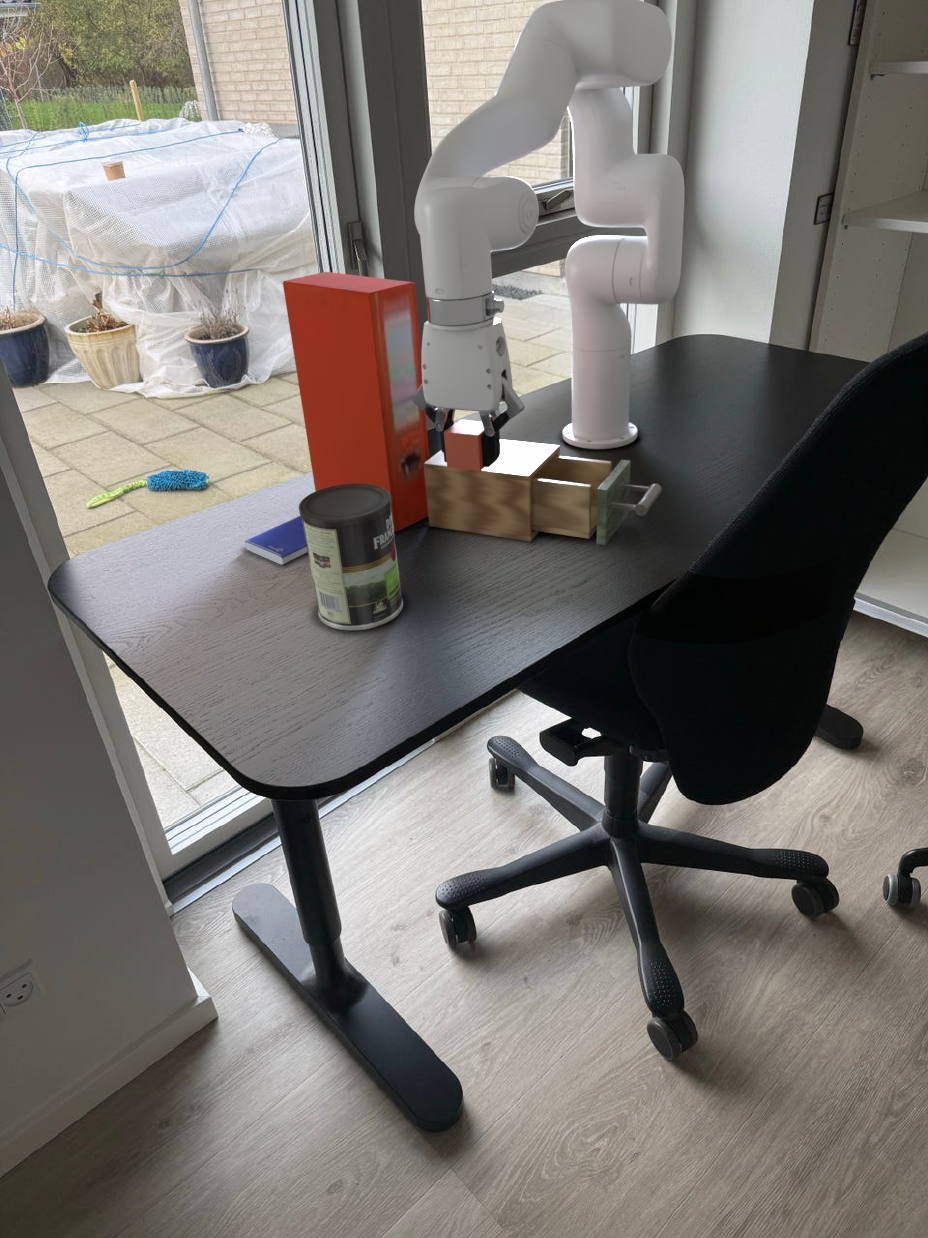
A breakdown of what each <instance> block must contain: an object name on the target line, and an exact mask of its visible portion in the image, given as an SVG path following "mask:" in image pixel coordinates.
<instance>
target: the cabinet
mask: <svg viewBox="0 0 928 1238" xmlns="http://www.w3.org/2000/svg"><path fill="white" fill-rule="evenodd" d="M500 450H501V452H500V456H499V458H498V459H497V460H496V461H495V462H494V463H493V464H492V465H491V466H490V467H484V468H483V469H482V470H481V471H474V470H466V469H458V468H450V467H447V462H445V461H444V453H443V452H442V449H440V450H439V451H438V452H436V453H435V454H434V455H432V456H431V457H429V460H427V461H426V462H425V463H424V474H425V484H426V495H427V505H428V524H429V527H432V528H433V527H434V528H440V529H446V530H453V531H458V532H467V533H473V534H479V535H485V536H492V537H498V538H505V539H511V540H518V541H524V542H532V541H533V540H534V539H535V538H536V536H537V535H538V534H539V532H540V531H534V530H532V508H531V480H530V479H531V478H532V477H533V476H534V475H535V474H536V473H537V472H538V471H539V470H540V469H541V468H542V467H543V466H544V465H545V464H546V463H547V462H548V461H549V460H550V459H551V458H552V457H553V456H554V455H557V456H561V445H559V444H551V443H550V444H549V443H539V442H529V441H522V440H521V441H520V440H510V439H501V438H500Z"/></svg>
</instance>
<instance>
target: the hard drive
mask: <svg viewBox="0 0 928 1238" xmlns="http://www.w3.org/2000/svg"><path fill="white" fill-rule="evenodd" d="M244 544H245V548H246V550H248V551H249V552H251V553H253V554H255V555H258V556H260V557H263V558H265V559H267V560H270V561H271V562H274V563H277V564H278V565H281V566H282V565H285V564H287V563H289V562H291V561H293V560H296V559H297V558H299V557H301V556H303V555H305V554H308V549H307V544H306V539H305V533H304V527H303V522H302V517H301V515H299V516H297V517H294V518H292V519H290V520H288V521H286V522H283V523H280V524H279V525H277V526H274V527H272V528H270V529H268V530H266V531H264V532H261V533H259V534H257V535H254V536H253V537H250V538H248V539H246V540H245V541H244Z"/></svg>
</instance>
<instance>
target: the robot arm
mask: <svg viewBox="0 0 928 1238" xmlns="http://www.w3.org/2000/svg"><path fill="white" fill-rule="evenodd" d="M672 36H673V35H672V29H671V25H670V23H669V20H668V18H667V16H666V14H665V13H664V11H663V10H662V8H660V7H659V6H657V5H655V4H652V3H649V2H646V1H643V0H555V1H551V2H550V1H549V2H547V3H544V4H542V5H540V6H539V7H536V8H535V9H534V11H532V13H531V14H530V15H529V16H528V18H527V19H526V20H525V23H524V24H523V28H522V30H521V32H520V34H519V36H518V39H517V41H516V44H515V45H514V49H513V51H512V54H511V55H510V58H509V61H508V63H507V66H506V68H505V70H504V73H503V75H502V77H501V79H500V82H499V84H498V87H497V89H496V92H495V94H494V95H493V96H492V97H491V98H489V99H488V100H486V101H485V102H484V103H482V104H481V105H479V106H478V107H477V108H476V109H475V110H473V111H472V112H471V113H470V114H469V115H467V116H466V117H465V118H463V120H461V121H460V122H459V123H458V124H457V125H456V126H455V127H453V128H452V129H451V130H450V131H449V132H447V133H446V135H445V136H444V137H443V138H442V139H441V141H439V143H438V144H437V146H436V147H435V149H434V151H433V152H432V154H431V156H430V159H429V161H428V163H427V165H426V168H425V170H424V171H423V175H422V177H421V181H420V182H419V186H418V188H417V192H416V196H415V202H414V210H413V212H414V213H413V215H414V224H415V227H416V230H417V233H418V234H419V239H420V248H421V259H422V270H423V280H424V281H423V283H424V291H425V302H426V312H427V320H426V321H425V322H424V323H423V329H422V337H421V352H420V353H421V365H422V384H421V385H420V387H419V389H418V390H417V392H416V394H415V396H414V397H413V403H414V404H415V405H417V406H418V407H419V408H420V409H421V410H422V411H425V413H426V417H428V418H429V420H430V421H431V422H432V423H433V424H434V428H435V430H436V431H438V432H439V439H440V447H441V449H440V450H442V452H443V453H444V461H445V462H447V461H446V450H445V439H444V432H445V431H446V430H447V429H448V428H450V427H451V426H452V425H454V424H455V423H456V422H455V421H454V420H455V415H456V411H468V412H478V413H479V414H478V415H479V417H480V421H482V424H483V427H484V431H485V434H484V435H483V436H482V438H481V441H482V456H483V466H484V467H490V466H491V465H492V464H493V463H494V462H495V461H496V460H497V459H498V458H499V456H500V452H501V450H500V439H501V434H500V430H501V429H502V428H503V427H504V426H505V425H506V424H507V423H508V422H509V421H510V420H512V419H514V418H515V417H516V416H518V415H519V414H520V413H521V412H522V411H524V410H525V408H526V407H525V404H524V402H523V401H522V399H521V398H520V397H519V395H518V394H517V392H516V391H515V389H514V387H513V375H512V367H511V359H510V353H509V349H508V348H509V347H508V341H507V337H506V333H505V329H504V325H503V321H502V319H501V318H498V317H495V316H496V314H498V313H499V314H503V313H504V310H505V302H504V300H502V299H497V298H496V297H495V291H493V273H492V271H493V270H492V256H491V253H492V252H498V251H507V250H512V249H517V248H518V247H520V246H522V245H523V244H525V243H526V242H527V241H528V240H529V239H530V238H531V237H532V235H533V234H534V232H535V230H536V229H537V226H538V225H537V224H538V223H539V222H538V221H539V217H540V206H539V200H538V197H537V194H536V191H535V190H534V189H533V187H532V186H531V184H529V183H528V182H527V181H525V180H524V179H521V178H519V177H515V176H506V175H496V176H493V175H492V176H485V175H486V174H488V173H489V172H491V171H493V170H495V169H497V168H499V167H502V166H505V165H507V164H509V163H510V164H511V163H512V162H515V161H517V160H520V159H522V158H525V157H526V156H528V155H531V154H533V153H534V152H537V151H539V150H540V149H542V148H544V147H545V146H547V145H548V144H550V143H551V142H552V141H553V140H554V139H555V138H556V136H557V134H558V133H559V131H560V129H561V126H562V123H563V120H564V118H565V115H566V112H567V111H568V114H569V118H570V122H571V131H572V156H573V157H572V161H573V163H572V165H573V166H572V167H573V169H572V171H573V172H572V173H573V201H574V203H573V204H574V210H575V214H576V217H577V219H578V221H580V222H581V223H582V224H583V225H586V226H590V227H595V228H640V229H641V228H642V229H643V230H644V231H645V234H646V236H641V235H639V236H638V235H591V236H588V237H584V238H581V239H579V240H578V241H576V242H575V243H574V244H573V245H572V246H571V247H570V248H569V250H568V252H567V254H566V257H565V263H564V274H565V284H566V288H567V294H568V300H569V307H570V321H571V322H570V323H571V326H570V327H571V423H569V424H567V425H566V426H564V428H563V429H562V439H563V441H564V442H565V443H567V444H568V445H570V446H574V447H576V448H581V449H588V450H609V449H615V448H621V447H625V446H627V445H630V444H631V443H634V441H635V440H636V439H637V438H638V435H639V434H638V433H639V432H638V430H639V429H638V427H637V426H636V425H635V424H634V423H632V422H629V421H630V395H631V394H630V392H631V391H630V390H631V367H632V366H631V364H632V362H631V361H632V338H633V337H632V327H631V324H630V321H629V319H628V317H627V315H626V313H625V311H624V310H623V308H622V306H621V304H629V305H651V306H653V305H654V306H655V305H663V304H666V303H668V302H670V301H671V300H672V299H673V298H675V296H676V294H677V291H678V290H679V285H680V281H681V276H682V275H681V273H682V260H683V239H684V238H683V236H684V219H685V218H684V216H685V214H684V213H685V177H684V174H683V169H682V165H681V164H680V163H679V161H678V160H677V159H676V158H675V157H674V156H671V155H670V154H665V153H636V152H635V149H634V114H633V110H632V107H631V104H630V102H629V100H628V99H627V97H626V95H625V94H624V92H623V90H622V89H621V88H632V87H634V88H635V87H647V86H652V85H654V84H655V83H657V82H658V81H659V80H660V79H661V78H662V77H663V75H664V74H665V73H666V70H667V69H668V66H669V63H670V60H671V56H672V47H673V37H672ZM501 403H505V404H506V409H504V410H503V411H502V412H500V406H501V405H500V404H501Z"/></svg>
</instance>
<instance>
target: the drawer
mask: <svg viewBox="0 0 928 1238" xmlns="http://www.w3.org/2000/svg"><path fill="white" fill-rule="evenodd" d="M612 462H613V461H611V460H602V459H592V458H584V457H574V456H566V455H565V456H564V455H560V456H557V455H554V456H553V457H552V458H551V459H550V460H549V461H548V462H547V463H546V464H545V465H544V466H543V467H542V468H541V469H540V470H539V471H538V472H537V473H536V474H535V475H534V476H533V477H532V478H531V479H530V480H531V508H532V530H534V531H539V532H542V533H548V534H554V535H563V536H568V537H576V538H583V539H590V538H591V537H592V536H593V534H594V533H595V532H596V545H603V546H606V545H607V544H608V542H610V540H611V539H612V537H613V535H615V532H616V531H617V530H618V529H619V527H621V524H622V523H623V521H625V519H626V517H627V516H628V515H629V512H630V511H632V512H635V514H636V515H637V516H639V517H643V516H646V515H647V514H648V512H649V511H650V509H651V508H652V506H653V505H654V503H655V502H656V501H657V499H658V498H659V496H660V495H661V493H662V491H663V488H662V486H661V485H660V484H659V483H652V484H651V485H650V486H645V485H637V484H630V483H631V482H630V480H631V460H628V459H621V460H620V461H619V463H617V465H616V466H615V468H614V469H613V470H612V467H613V466H612V464H613V463H612ZM630 491H633V492H641V493H644V494H643V495H642V496H641V498H640V499H639V501H638V502H637V504H632V503H630Z"/></svg>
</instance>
